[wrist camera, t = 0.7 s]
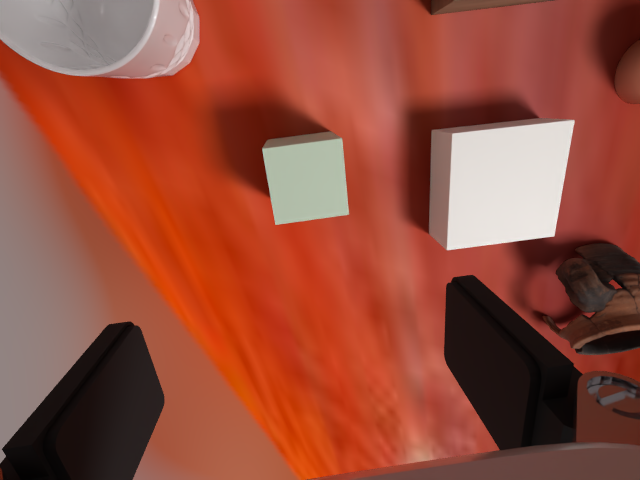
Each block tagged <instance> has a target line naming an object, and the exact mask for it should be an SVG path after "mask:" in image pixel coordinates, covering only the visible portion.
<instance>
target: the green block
mask: <svg viewBox="0 0 640 480" xmlns="http://www.w3.org/2000/svg"><path fill="white" fill-rule="evenodd" d="M262 152H263V157H264V163H265V168H266V174H267V180H268V185H269V191H270V197H271V202H272V208H273V213H274V219H275V225H278V224H285V223H292V222H299V221H306V220H313V219H320V218H327V217H334V216H342V215H349V210H348V199H347V187H346V176H345V165H344V154H343V143H342V138H341V137H339V136H338V135H336V134H334V133H333V132H331V131H330V132H322V133H314V134H307V135H299V136H291V137H284V138H276V139H269V140H267V141H266V143H265V145H264V146H263V148H262Z"/></svg>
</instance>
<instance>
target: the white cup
mask: <svg viewBox="0 0 640 480" xmlns="http://www.w3.org/2000/svg"><path fill="white" fill-rule="evenodd" d="M0 39H1V40H2V41H3V42H4V43H5V44H6V45H8V46H9V47H10V48H11V49H13V50H14V51H15V52H17V53H18V54H20V55H21V56H23V57H24V58H26V59H28V60H29V61H31V62H33V63H35V64H37V65H39V66H41V67H44V68H46V69H49V70H52V71H55V72H58V73H62V74H67V75H74V76H91V77H109V78H152V77H161V76H171V75H174V74H175V73H177V72H178V71H180V70H181V69H182V68H184V67H185V66H187V65H188V64H189V63H190V62H191V60H192V58H193V55H194V53H195V51H196V49H197V47H198V45H199V15H198V12H197V10H196V8H195V5H194V3H193V0H0Z"/></svg>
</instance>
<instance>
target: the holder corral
mask: <svg viewBox="0 0 640 480" xmlns="http://www.w3.org/2000/svg"><path fill="white" fill-rule="evenodd" d="M545 1H553V0H431V15H435V14H444V13H452V12H461V11H469V10H477V9H486V8H494V7H503V6H511V5H519V4H528V3H536V2H545Z"/></svg>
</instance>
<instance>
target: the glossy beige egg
mask: <svg viewBox="0 0 640 480" xmlns="http://www.w3.org/2000/svg"><path fill="white" fill-rule="evenodd" d="M615 89H616V92H617V94H618V96H619V97H620V98H621V99H622V100H623V101H624V102H626V103H630V104H640V39H639V40H638V41H636V42H635V43H634V44H633V45H632V46H630V47H629V49H628V50H627V51H626V52H625V53H624V55H623V56H622V58H621V60H620V62H619V64H618V66H617V69H616V73H615Z"/></svg>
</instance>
